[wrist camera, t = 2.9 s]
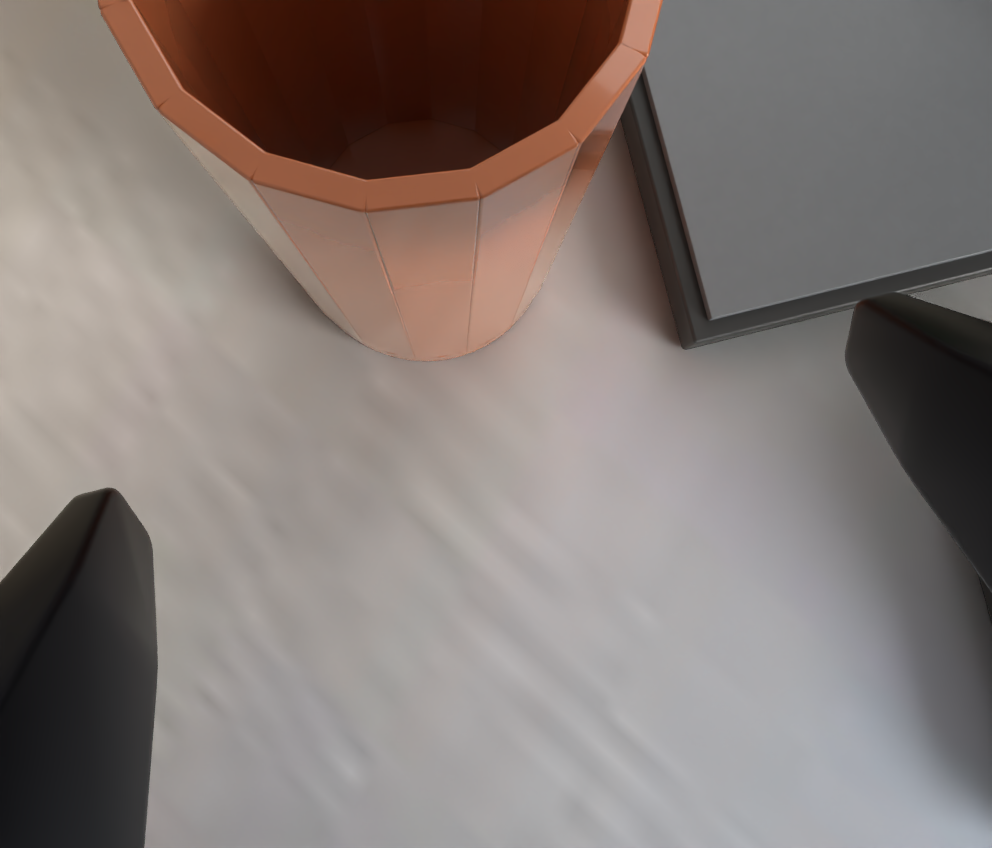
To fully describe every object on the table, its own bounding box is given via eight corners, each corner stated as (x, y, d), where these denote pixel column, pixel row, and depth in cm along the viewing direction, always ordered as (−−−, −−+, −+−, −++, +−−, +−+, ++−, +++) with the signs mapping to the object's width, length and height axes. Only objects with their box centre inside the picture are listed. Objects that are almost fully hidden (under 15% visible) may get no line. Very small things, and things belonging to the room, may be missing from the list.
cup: (513, 389, 22) (592, 275, 9) (272, 324, 21) (14, 116, 9) (574, 157, 22) (728, -253, 10) (339, 92, 22) (184, -417, 9)
